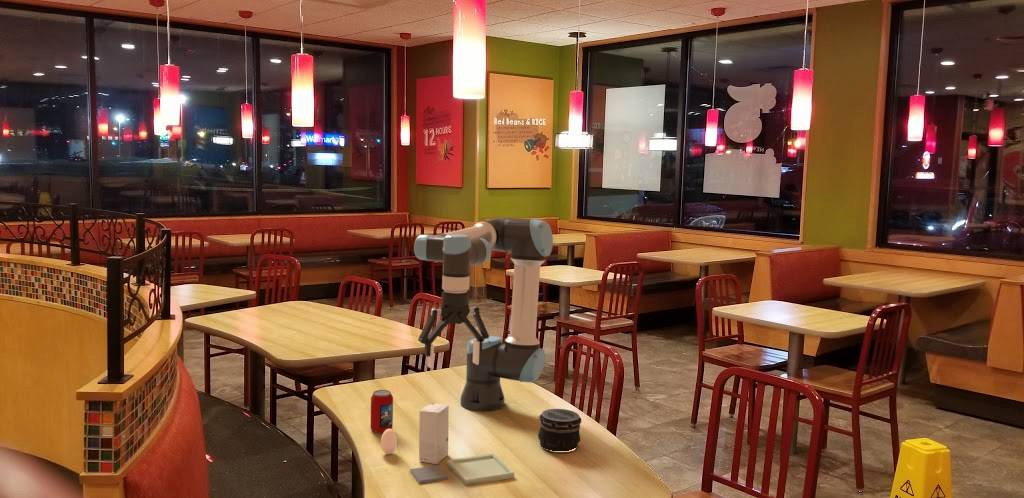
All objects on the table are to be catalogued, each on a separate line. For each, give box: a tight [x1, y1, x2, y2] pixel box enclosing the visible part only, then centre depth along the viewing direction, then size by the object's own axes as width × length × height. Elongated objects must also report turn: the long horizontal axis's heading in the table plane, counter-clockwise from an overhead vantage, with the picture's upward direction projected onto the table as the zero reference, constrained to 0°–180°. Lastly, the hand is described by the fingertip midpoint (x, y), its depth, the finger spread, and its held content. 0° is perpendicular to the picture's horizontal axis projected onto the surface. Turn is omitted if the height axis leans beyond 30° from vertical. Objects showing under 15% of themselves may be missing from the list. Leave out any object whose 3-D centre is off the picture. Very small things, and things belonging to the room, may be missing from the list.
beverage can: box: [370, 389, 394, 434], centre depth 244 cm, size 7×7×12 cm
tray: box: [446, 453, 515, 486], centre depth 216 cm, size 14×14×2 cm
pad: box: [409, 464, 449, 485], centre depth 213 cm, size 8×8×1 cm
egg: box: [380, 428, 398, 455], centre depth 226 cm, size 5×5×7 cm
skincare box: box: [418, 403, 449, 465], centre depth 224 cm, size 8×6×15 cm
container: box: [537, 408, 582, 451], centre depth 236 cm, size 13×13×10 cm
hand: (453, 365), depth 222 cm, fingers open, 13 cm apart
